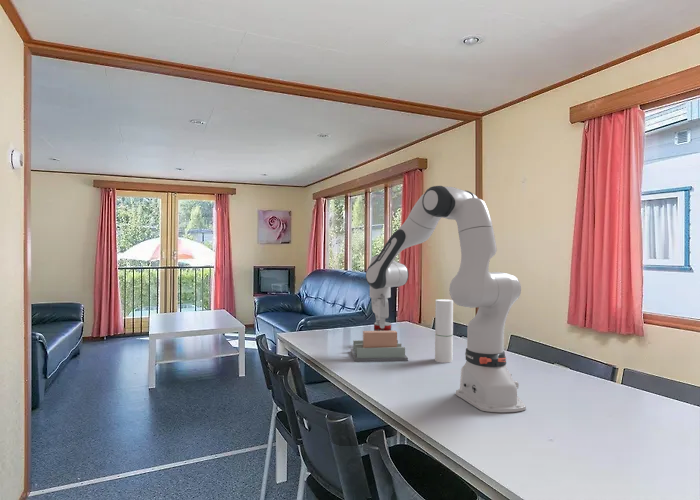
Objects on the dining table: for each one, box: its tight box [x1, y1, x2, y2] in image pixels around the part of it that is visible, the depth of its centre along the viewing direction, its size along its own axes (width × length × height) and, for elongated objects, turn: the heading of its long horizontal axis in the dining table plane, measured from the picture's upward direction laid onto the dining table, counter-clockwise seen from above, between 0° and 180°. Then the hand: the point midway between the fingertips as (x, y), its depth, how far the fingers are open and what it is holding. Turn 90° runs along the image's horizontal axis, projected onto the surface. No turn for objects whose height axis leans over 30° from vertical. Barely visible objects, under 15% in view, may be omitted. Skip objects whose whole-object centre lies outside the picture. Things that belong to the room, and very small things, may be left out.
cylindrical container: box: [434, 298, 454, 364], centre depth 177 cm, size 7×7×25 cm
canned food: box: [373, 321, 392, 331], centre depth 202 cm, size 8×8×11 cm
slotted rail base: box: [350, 339, 409, 363], centre depth 184 cm, size 17×22×5 cm
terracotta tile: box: [362, 330, 398, 348], centre depth 180 cm, size 4×14×10 cm, turn 96°
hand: (380, 326), depth 180 cm, fingers open, 8 cm apart
